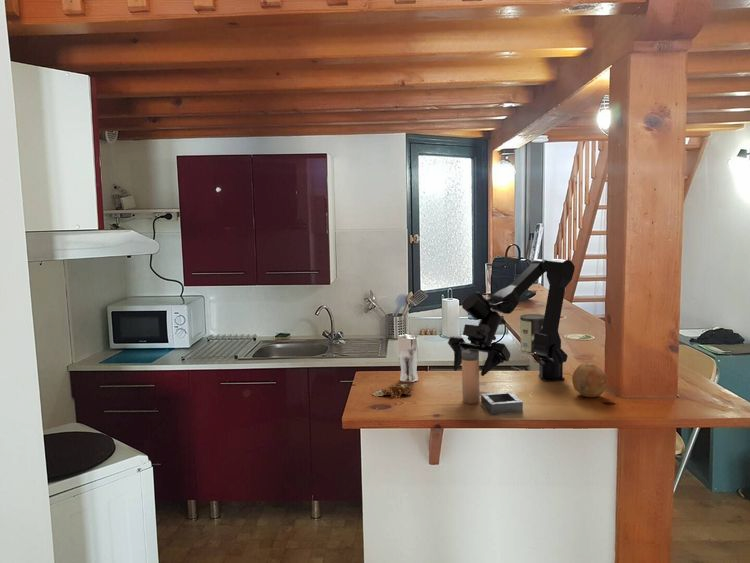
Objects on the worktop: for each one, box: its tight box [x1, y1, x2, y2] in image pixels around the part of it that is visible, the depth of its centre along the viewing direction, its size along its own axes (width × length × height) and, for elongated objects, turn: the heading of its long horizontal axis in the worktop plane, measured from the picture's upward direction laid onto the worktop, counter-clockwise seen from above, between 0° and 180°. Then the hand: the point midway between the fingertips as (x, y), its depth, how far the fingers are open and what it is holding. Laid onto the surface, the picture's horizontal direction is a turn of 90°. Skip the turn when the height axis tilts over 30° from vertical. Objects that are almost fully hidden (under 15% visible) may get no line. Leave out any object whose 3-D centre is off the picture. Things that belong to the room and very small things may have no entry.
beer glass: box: [397, 333, 419, 383], centre depth 187 cm, size 7×7×15 cm
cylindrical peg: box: [461, 350, 481, 405], centre depth 164 cm, size 5×5×15 cm
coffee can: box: [519, 313, 545, 356], centre depth 217 cm, size 10×10×14 cm
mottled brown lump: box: [372, 383, 412, 398], centre depth 174 cm, size 7×12×4 cm, turn 99°
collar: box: [480, 391, 524, 416], centre depth 159 cm, size 9×9×3 cm
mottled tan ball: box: [571, 362, 608, 398], centre depth 165 cm, size 10×10×10 cm
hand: (468, 372), depth 163 cm, fingers open, 9 cm apart
